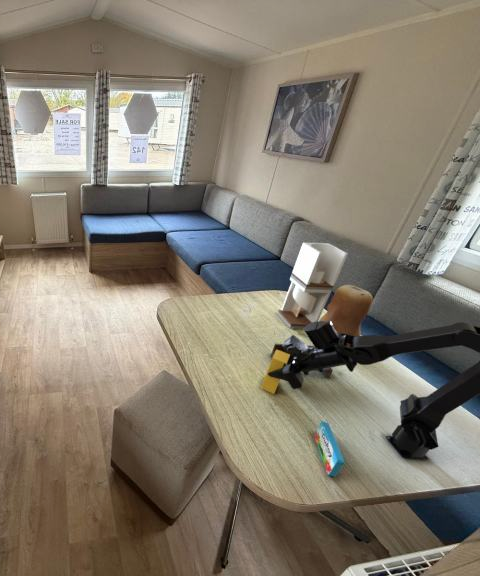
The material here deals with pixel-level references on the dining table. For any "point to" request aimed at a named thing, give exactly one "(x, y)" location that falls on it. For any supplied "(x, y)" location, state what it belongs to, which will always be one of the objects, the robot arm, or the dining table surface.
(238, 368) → the dining table surface
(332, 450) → the blue food box
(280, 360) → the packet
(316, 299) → the white cubby shelf
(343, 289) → the butternut squash
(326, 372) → the rack
